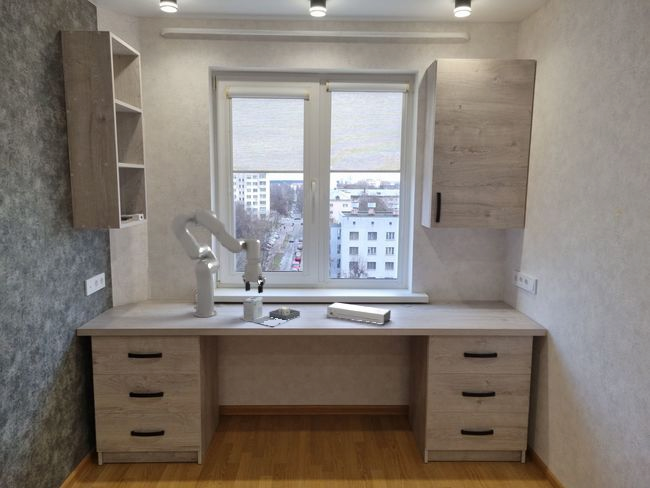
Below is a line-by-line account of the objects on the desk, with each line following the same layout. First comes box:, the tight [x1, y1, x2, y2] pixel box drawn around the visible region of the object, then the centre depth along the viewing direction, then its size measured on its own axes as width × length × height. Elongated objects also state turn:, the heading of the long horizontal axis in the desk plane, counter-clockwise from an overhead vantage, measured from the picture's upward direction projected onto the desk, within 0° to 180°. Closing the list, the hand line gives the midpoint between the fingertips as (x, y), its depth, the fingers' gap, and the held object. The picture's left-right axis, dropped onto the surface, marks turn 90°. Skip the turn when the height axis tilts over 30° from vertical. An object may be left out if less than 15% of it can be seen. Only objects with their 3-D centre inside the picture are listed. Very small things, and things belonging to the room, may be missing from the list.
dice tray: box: [268, 308, 301, 321], centre depth 249 cm, size 12×12×3 cm
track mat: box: [239, 314, 276, 325], centre depth 241 cm, size 24×12×1 cm, turn 54°
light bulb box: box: [242, 295, 263, 320], centre depth 245 cm, size 11×7×11 cm, turn 161°
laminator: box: [327, 302, 391, 325], centre depth 249 cm, size 34×12×6 cm, turn 64°
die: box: [278, 306, 291, 315], centre depth 249 cm, size 5×5×5 cm
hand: (254, 291), depth 244 cm, fingers open, 9 cm apart
